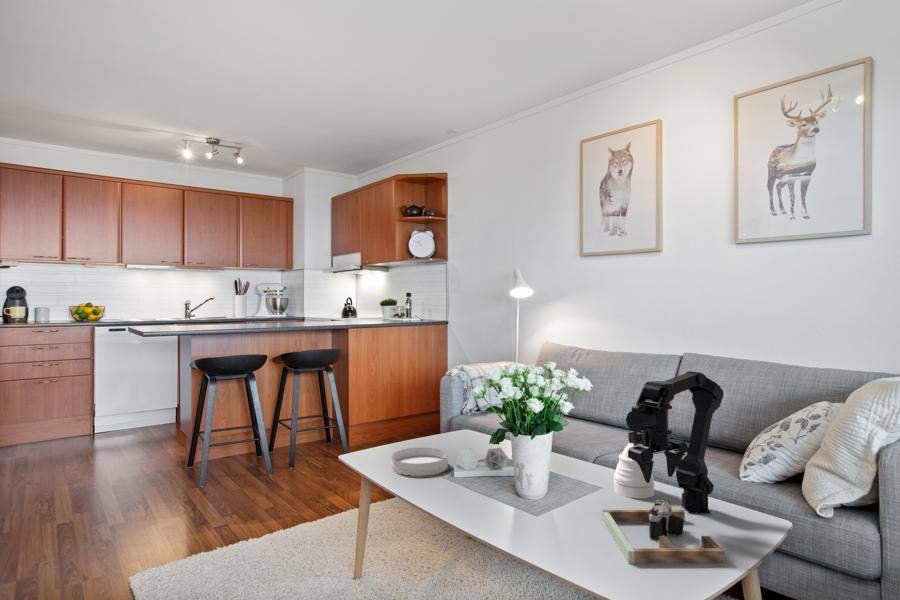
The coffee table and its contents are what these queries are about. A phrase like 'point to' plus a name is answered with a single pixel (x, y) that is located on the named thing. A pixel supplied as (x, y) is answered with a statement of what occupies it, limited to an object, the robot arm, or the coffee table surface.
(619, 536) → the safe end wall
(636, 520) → the trap box
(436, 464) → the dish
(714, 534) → the coffee table surface
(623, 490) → the honey pot
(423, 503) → the coffee table surface
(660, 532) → the camera
